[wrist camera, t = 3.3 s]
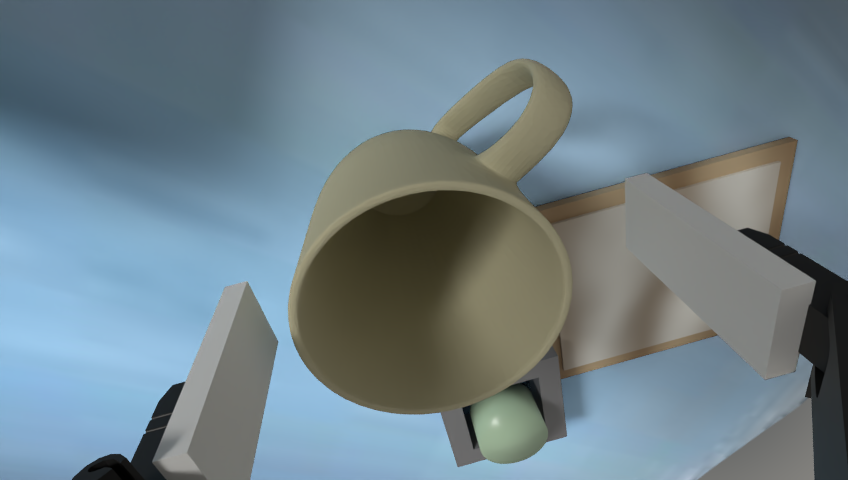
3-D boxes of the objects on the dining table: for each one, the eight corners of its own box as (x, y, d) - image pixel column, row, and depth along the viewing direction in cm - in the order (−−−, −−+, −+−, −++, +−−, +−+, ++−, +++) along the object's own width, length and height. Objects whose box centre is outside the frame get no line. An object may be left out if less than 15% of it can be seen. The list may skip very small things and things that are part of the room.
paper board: (547, 375, 34) (551, 384, 34) (525, 209, 27) (530, 215, 27) (756, 317, 35) (765, 324, 34) (789, 136, 28) (800, 141, 27)
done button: (475, 434, 33) (485, 470, 31) (464, 392, 31) (474, 427, 28) (535, 417, 33) (551, 452, 31) (528, 374, 31) (544, 408, 28)
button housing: (449, 431, 36) (457, 467, 33) (426, 356, 32) (433, 390, 29) (550, 403, 36) (567, 436, 33) (540, 324, 32) (558, 355, 29)
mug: (499, 232, 28) (591, 384, 17) (331, 260, 27) (322, 436, 17) (493, 31, 22) (622, 79, 12) (282, 59, 22) (226, 136, 11)
